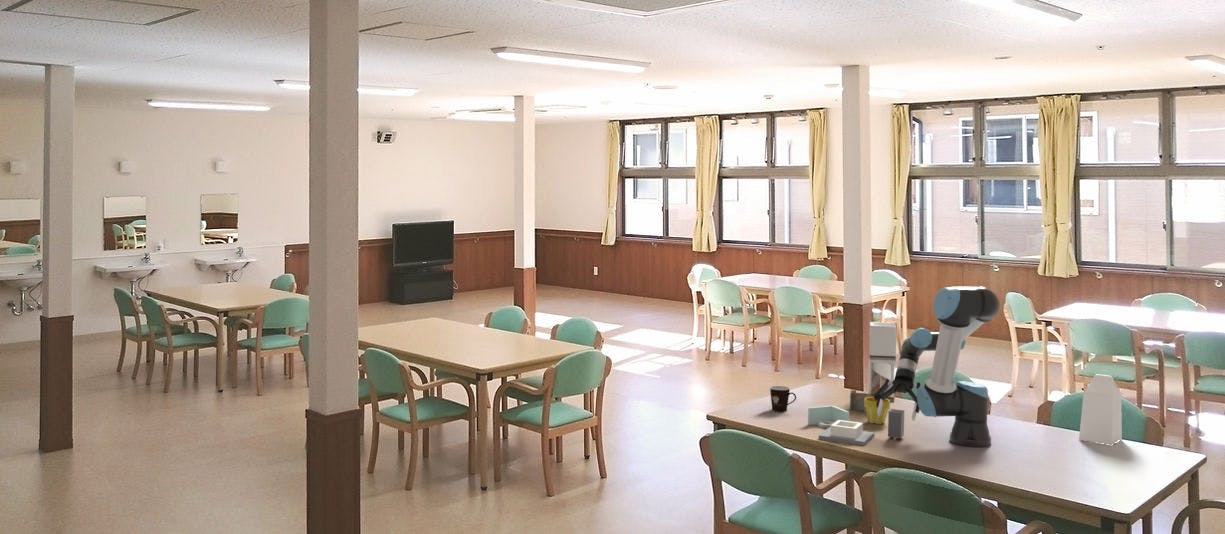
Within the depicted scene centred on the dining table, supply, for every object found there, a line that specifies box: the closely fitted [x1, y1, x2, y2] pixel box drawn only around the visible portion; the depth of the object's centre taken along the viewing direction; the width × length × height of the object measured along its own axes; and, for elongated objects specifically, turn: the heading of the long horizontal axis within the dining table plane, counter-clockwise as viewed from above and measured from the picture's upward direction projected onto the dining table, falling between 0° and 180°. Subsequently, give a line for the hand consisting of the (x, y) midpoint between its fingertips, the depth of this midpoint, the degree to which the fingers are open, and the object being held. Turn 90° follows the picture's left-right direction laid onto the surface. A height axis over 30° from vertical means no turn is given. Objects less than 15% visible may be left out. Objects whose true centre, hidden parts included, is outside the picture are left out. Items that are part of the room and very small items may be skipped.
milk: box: [1078, 373, 1123, 445], centre depth 372 cm, size 12×12×26 cm
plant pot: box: [864, 397, 891, 425], centre depth 400 cm, size 10×10×10 cm
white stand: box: [867, 321, 897, 402], centre depth 442 cm, size 11×11×35 cm
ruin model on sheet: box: [849, 389, 874, 411], centre depth 421 cm, size 11×3×10 cm, turn 74°
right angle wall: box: [807, 405, 850, 429], centre depth 393 cm, size 12×12×8 cm
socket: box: [818, 420, 875, 447], centre depth 377 cm, size 18×15×6 cm
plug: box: [887, 408, 905, 441], centre depth 375 cm, size 5×5×11 cm
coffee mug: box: [769, 385, 797, 413], centre depth 420 cm, size 12×9×10 cm
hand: (895, 416), depth 378 cm, fingers open, 13 cm apart
